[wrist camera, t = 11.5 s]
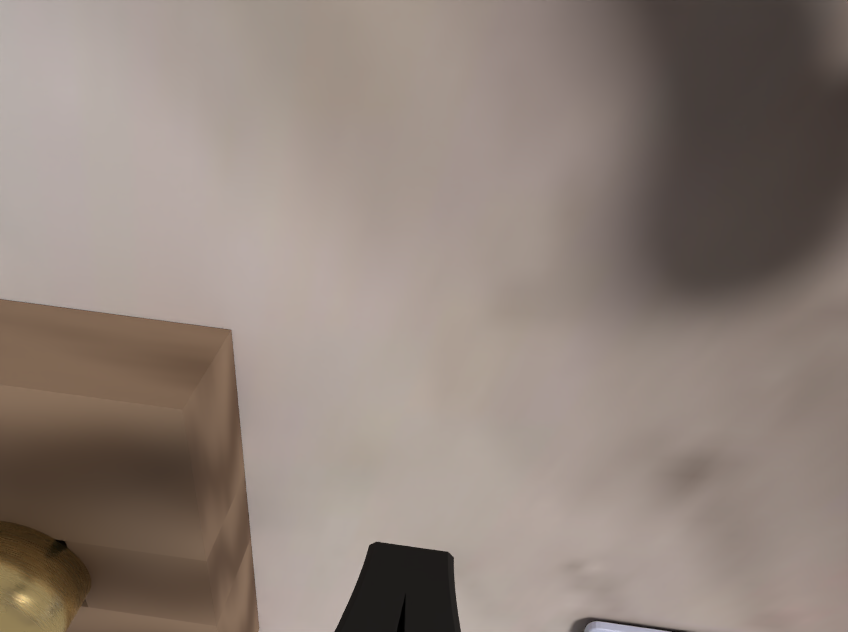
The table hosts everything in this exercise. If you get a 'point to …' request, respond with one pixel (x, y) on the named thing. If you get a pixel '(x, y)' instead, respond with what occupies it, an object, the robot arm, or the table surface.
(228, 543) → the walnut block
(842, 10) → the table surface
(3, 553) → the brass peg
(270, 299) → the table surface
